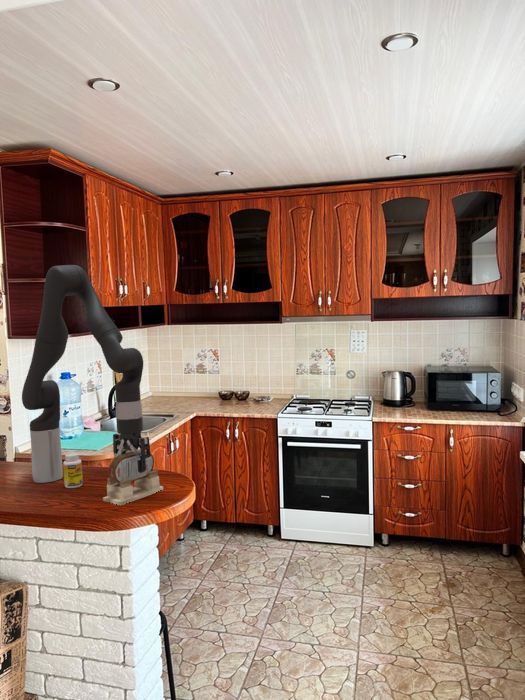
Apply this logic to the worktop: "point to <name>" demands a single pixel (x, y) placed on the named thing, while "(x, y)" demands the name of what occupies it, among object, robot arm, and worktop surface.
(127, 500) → the cradle
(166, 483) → the worktop surface
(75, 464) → the supplement bottle
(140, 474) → the tin
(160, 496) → the worktop surface
